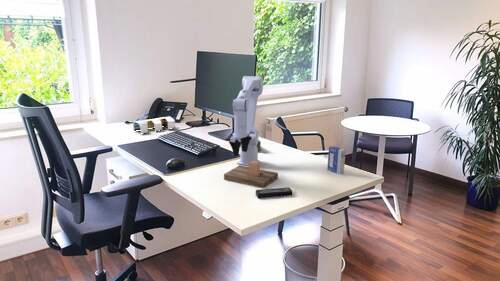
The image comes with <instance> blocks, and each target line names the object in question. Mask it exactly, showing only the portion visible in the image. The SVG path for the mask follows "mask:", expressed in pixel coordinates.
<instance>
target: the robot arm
mask: <svg viewBox="0 0 500 281" xmlns="http://www.w3.org/2000/svg"><path fill="white" fill-rule="evenodd" d="M241 85H242V86H241V87H242V89H241V90H240V91H239V93H238V95H237V98H235V99H233V100H232V111H233V116H234V118H233V119H234V120H233V121H234V126H233V127H234V130H233V131H234V132H233V133H232V136H231V137H230V139H229V141H228V144H229V145H230V148H231V149H232V152H233V156H234V157H239V156H240V158H239V159H240V160H239V161H237V162H236V164H238V165H241V166H246V167H249V163H250V162H251V161H258V162H260V160H259V159H258V158H259V152H258V148H257V144H258V140H259V131H258V130H257V129H256V128H255V121H256V114H257V104H258V99H259V97H260V96H261V95H262V93H263V89H264V77H263V76H249V75H244V76H243V77H242V82H241Z"/></svg>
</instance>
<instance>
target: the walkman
mask: <svg viewBox="0 0 500 281" xmlns="http://www.w3.org/2000/svg"><path fill="white" fill-rule="evenodd" d="M345 162H346V149H344V148H340V147H338V146H334V145H331V146H329V147H328V159H327V168H326V169H327V171H329V172H332V173H335V174H338V175H342V174H344V173H345V164H346V163H345Z"/></svg>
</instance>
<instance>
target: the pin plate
mask: <svg viewBox="0 0 500 281" xmlns="http://www.w3.org/2000/svg"><path fill="white" fill-rule="evenodd" d="M278 178H279V172H276V171H271V170H266V169H261V168H260V176H259V177H254V176H249V166H247V165H242V164H238V166H236V167H234V168H232V169H230V170H228V171H227V172H225V173H223V180H225V181H230V182H235V183H239V184H243V185H248V186H251V187H256V188H257V187H258V188H261V189H266V187H268V186H269V185H270V184H272V183H273V182H274V181H276V180H278Z"/></svg>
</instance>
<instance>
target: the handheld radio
mask: <svg viewBox="0 0 500 281" xmlns="http://www.w3.org/2000/svg"><path fill="white" fill-rule="evenodd" d="M261 143H262V142H261V140H259V139H258V144H257V148H258V153H260V152H261Z"/></svg>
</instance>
